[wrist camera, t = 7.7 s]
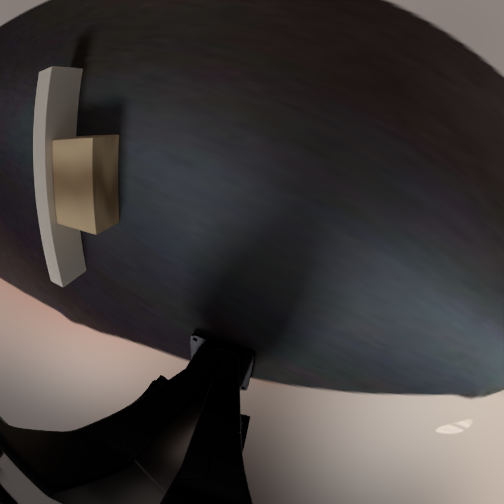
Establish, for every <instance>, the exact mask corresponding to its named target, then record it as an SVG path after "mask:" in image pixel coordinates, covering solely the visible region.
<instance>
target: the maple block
mask: <svg viewBox="0 0 504 504" xmlns="http://www.w3.org/2000/svg"><path fill="white" fill-rule="evenodd" d="M118 150H119V135H93V136H76V137H70V138H64V139H58V140H53V141H52V170H53V188H54V200H55V210H56V218H57V223H58V224H61V225H64V226H68V227H71V228H75V229H78V230H82V231H85V232H88V233H92V234H95V235H97V234H99V233H100V232H102V231H104V230H106V229H108V228H110V227H111V226H113V225H115V224H117V223H119V201H118Z"/></svg>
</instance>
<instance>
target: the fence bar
mask: <svg viewBox="0 0 504 504" xmlns="http://www.w3.org/2000/svg"><path fill="white" fill-rule="evenodd" d="M82 72H83V69H82V68H70V67H53V66H52V67H50V68H47V69H45V70H43V71H41V72H39V77H38V84H37V92H36V101H35V113H34V131H33V163H34V182H35V195H36V204H37V212H38V220H39V226H40V232H41V238H42V243H43V249H44V253H45V258H46V263H47V267H48V271H49V275H50V279H51V281H52V282H54V283H56V284H58V285H59V286H61V287H64V286H66V285H67V284H69V283H70V282H71V281H73V280H74V279H75V278H77V277H78V276H80V275H81V274H82V273H84V272H85V271H86V266H85V260H84V254H83V247H82V240H81V232H80V230H78V229H75V228H71V227H68V226H64V225H61V224H58V223H57V218H56V210H55V200H54V188H53V170H52V141H53V140H58V139H64V138H70V137H76V131H77V115H78V103H79V94H80V86H81V78H82Z"/></svg>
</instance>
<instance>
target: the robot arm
mask: <svg viewBox="0 0 504 504" xmlns="http://www.w3.org/2000/svg"><path fill="white" fill-rule="evenodd" d="M196 338H197V339H196ZM249 354H250V355H249ZM254 358H255V352H254V351H253V350H250V349H246V348H243V347H239V346H236V345H232V344H229V343H226V342H222V341H219V340H216V339H213V338H209V337H206V336H203V335H200V334H197V333H193V334H192V336H191V361H190V362H189V364H188V366H187V367H186V369H184V370H183V371H182V372H180V373H178V374H177V375H176V376H174V377H172V378H171V379H170V380H167V379H166V378H165V377H164V376H162V375H160V377H159V378H158V379H157V380H154V381H152V383H151V384H150V386H149V387H148V389H147V390H146V391H145V392H144V393H143V394H142V396H140V397H139V398H138V399H137V400H136V401H135V402H133V403H132V404H131V405H129V406H127V407H125V408H124V409H122V410H120V411H118V412H116V413H114V414H112V415H110V416H108V417H106V418H103V419H101V420H99V421H96V422H94V423H92V424H89V425H87V426H84V427H82V428H79V429H77V430H72V431H65V432H59V431H43V430H32V429H23V428H17V427H12V426H10V425H8V424H7V423H6V422H5V421H4V420H3V419H2V417H0V504H253V502H252V498H251V494H250V490H249V486H248V482H247V477H246V473H245V468H244V462H243V456H242V452H243V448H244V444H245V439H246V435H247V430H248V425H249V420H250V416H247V415H242V414H240V390H247V388H248V385H249V380H250V376H251V372H252V367H253V363H254Z"/></svg>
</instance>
